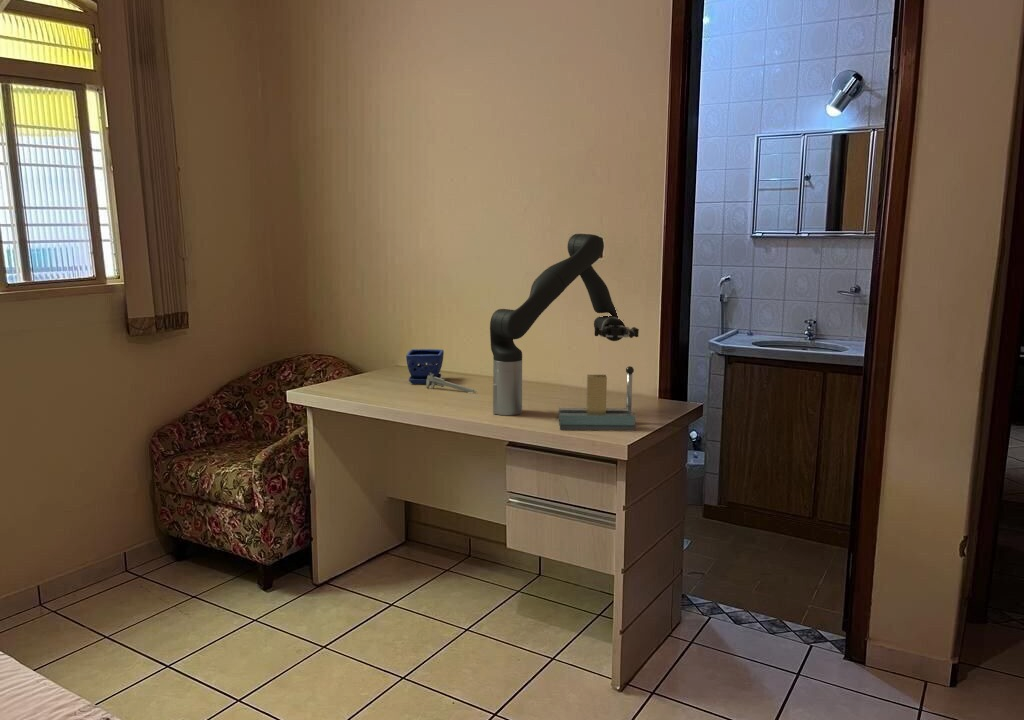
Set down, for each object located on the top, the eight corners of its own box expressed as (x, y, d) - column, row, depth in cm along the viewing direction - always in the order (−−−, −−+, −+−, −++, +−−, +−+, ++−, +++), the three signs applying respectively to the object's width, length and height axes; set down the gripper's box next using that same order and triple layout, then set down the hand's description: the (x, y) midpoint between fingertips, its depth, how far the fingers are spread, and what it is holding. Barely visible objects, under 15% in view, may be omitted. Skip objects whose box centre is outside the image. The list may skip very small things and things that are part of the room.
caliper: (426, 389, 292) (426, 372, 290) (427, 388, 292) (427, 372, 291) (476, 394, 283) (475, 376, 282) (477, 393, 284) (477, 376, 283)
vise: (558, 417, 248) (558, 404, 247) (628, 417, 247) (628, 404, 247) (560, 430, 232) (560, 416, 231) (635, 430, 231) (635, 416, 231)
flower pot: (441, 385, 297) (440, 354, 295) (406, 385, 298) (405, 354, 296) (444, 379, 310) (444, 349, 309) (410, 378, 311) (410, 348, 309)
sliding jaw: (558, 416, 243) (559, 365, 240) (631, 417, 243) (633, 365, 240) (559, 419, 240) (559, 367, 237) (633, 419, 239) (634, 367, 236)
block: (586, 419, 239) (587, 374, 237) (604, 420, 239) (605, 374, 237) (587, 423, 236) (588, 377, 233) (605, 423, 235) (606, 377, 233)
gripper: (592, 317, 268) (596, 322, 252) (634, 318, 268) (641, 323, 252) (591, 339, 269) (595, 345, 253) (633, 340, 269) (640, 346, 253)
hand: (618, 334), depth 252 cm, fingers open, 8 cm apart
